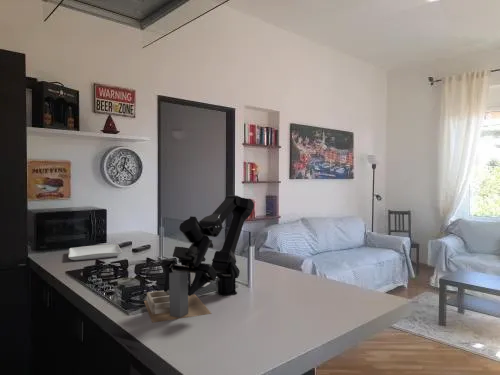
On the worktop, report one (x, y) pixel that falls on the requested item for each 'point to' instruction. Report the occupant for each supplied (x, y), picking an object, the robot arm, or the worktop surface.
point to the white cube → (194, 277)
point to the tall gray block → (178, 293)
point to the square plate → (94, 252)
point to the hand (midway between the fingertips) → (176, 293)
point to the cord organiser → (161, 306)
